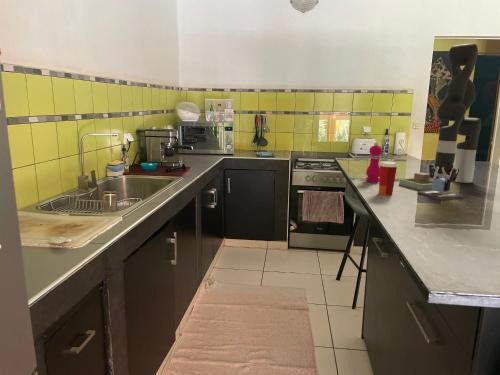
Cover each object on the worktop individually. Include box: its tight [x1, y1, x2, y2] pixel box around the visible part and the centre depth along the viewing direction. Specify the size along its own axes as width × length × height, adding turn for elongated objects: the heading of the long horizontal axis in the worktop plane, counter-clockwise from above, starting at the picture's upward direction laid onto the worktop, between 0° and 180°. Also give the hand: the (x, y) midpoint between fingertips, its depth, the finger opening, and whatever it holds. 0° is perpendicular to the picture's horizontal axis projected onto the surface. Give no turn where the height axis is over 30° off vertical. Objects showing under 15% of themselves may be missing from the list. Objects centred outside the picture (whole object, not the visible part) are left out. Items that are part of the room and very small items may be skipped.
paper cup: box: [378, 161, 398, 196], centre depth 171 cm, size 8×8×14 cm
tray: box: [398, 177, 433, 191], centre depth 189 cm, size 14×14×3 cm
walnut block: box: [413, 172, 431, 184], centre depth 188 cm, size 5×5×6 cm
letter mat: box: [416, 190, 464, 201], centre depth 172 cm, size 13×13×1 cm
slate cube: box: [432, 177, 452, 192], centre depth 171 cm, size 5×5×5 cm
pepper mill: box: [365, 142, 383, 183], centre depth 197 cm, size 7×7×20 cm
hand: (440, 189), depth 171 cm, fingers closed on slate cube, 4 cm apart
